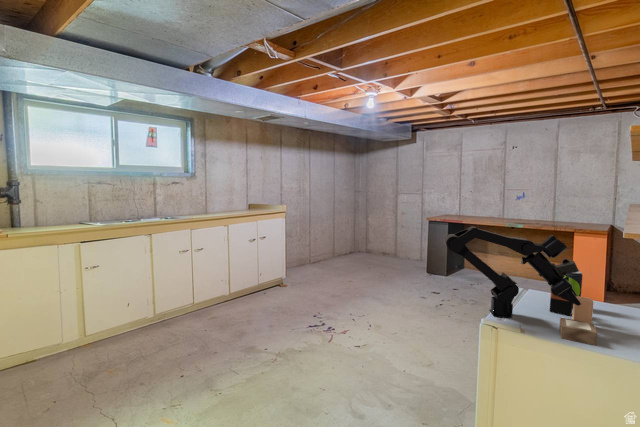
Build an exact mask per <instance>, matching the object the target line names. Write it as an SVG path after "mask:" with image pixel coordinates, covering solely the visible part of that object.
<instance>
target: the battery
mask: <svg viewBox="0 0 640 427" xmlns="http://www.w3.org/2000/svg"><path fill="white" fill-rule="evenodd" d="M549 300H550V302H549V312H551V313H553V314H558V315H564V316H567V317H570V316H571V315H573V309H572V306H573V303H571V302H569V301H567V300H565V299H563V298H560V297H557V296H555V295H554V294H553V293H552V292H551V291H550V299H549Z"/></svg>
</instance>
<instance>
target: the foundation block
mask: <svg viewBox="0 0 640 427" xmlns="http://www.w3.org/2000/svg"><path fill="white" fill-rule="evenodd" d="M559 332H560V334H559V335H560V338H561V339H563V340H568V341H573V342H578V343H582V344H588V345H592V346H593V345H594V346H597V340H598V331H597V329H596V326H595V324H594V323H593V322H592V323H589V322H583V321H578V320H572V318H566V317H560V318H559Z"/></svg>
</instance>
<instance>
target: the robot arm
mask: <svg viewBox="0 0 640 427" xmlns="http://www.w3.org/2000/svg"><path fill="white" fill-rule="evenodd" d="M475 239H478V240H481V241H485V242H489V243H492V244H496V245H498V246H502V247H506V248H508V249H510V250H512V251H514V252H516V253H518V254H521V257H520V260H521V261H520V264H521V265H526V264H527V263H528V264H529V265H530V266H531V267H532V269H533V270H535V271H536V272H537V273H538V276H540V277H541V278H543V279H544V280H545V282H547V285H548V286H549V287H550V293H551V292H552V293H553V294H554V295H555V296H557V297H560V298H563V299H565V300H567V301H569V302H571V303H573V304H576V305H578V306H579V305H581V303H580V302H579V300H578V299H577V297H576V296H577V294H576V293H575V291H574V290H573V289H572V284H571V283H570V282H569V277H568V275H567V274H569V273H573V272H574V273H575V272H578V271H580V270H579V268H578V266H577V264H576V262H575V261H574V260H569V259H568V258H564V259H562V260H561V263H559V264H555V263H554V262H551V261H550V260H549V259H550V258H552V259H556V258H557V257H558V256H559V255H561V254H562V253H563V252H565V251H566V250H567V249H568V246H567V245H566V244H565V243H564V242H562V240H560V239H558V238H557V237H556V236H555V235H553V234H550V235H549V236H548V237H547V238H546V239H544V241H542V242H541V243H537V242H533V241H532V240H530V239H527V238H524V237H517V236H506V235H502V234H499V233H495V232H491V231H488V230H484V229H481V228H478V227H476V226H470V227H467V228H466V229H464V230H463V229H462V230H461V231H458V232H456V233H450V234H447V235H446V236H445V237H444V239H443V245H444V246H445V247H446V248H447V249H448V250H449V251H451V252H452V253H454V254H456V255H458V256H460V257H462V258H463V259H465V260H466V261H467V262H469V264H470V265H472V266H473V267H474V268H476V269H477V270H478V271H479V272H480V273H481V274H483V275H484V276H485V277H486V278H488V279H489V280H490V282H492V284H493V285H494V287H492V288H491V289H490V293H491V301H490V302H491V303H490V304H491V305H490V309H488V311H489V312H490V313H491V315H492V316H493V317H495V318H496V317H497V318H506V319H507V318H509V319H513V309H514V304H513V301H514V299H515V297H517V296H518V294H519V289H520V288H519V286H518V285H517V284H518V283H517V282H516V281H515V280H513V278H511V277H510V276H509V275H508V274H506V273H505V272H502V273H501V274H500V273H498V272H496V271H495V270H494V269H493V268H491V267H490V266H489V265H488V264H487V263H485V262H484V261H483V260H482V259H480V258H479V257H478V256H477V255H476V254H475V253H473V252H472V251H471V250H470V249H469V248H468V246H467V244H469V243H470V242H472V240H475ZM522 255H523V256H522ZM565 276H566V277H565ZM564 277H565V278H564ZM493 310H494V311H493Z"/></svg>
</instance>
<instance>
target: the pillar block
mask: <svg viewBox="0 0 640 427" xmlns="http://www.w3.org/2000/svg"><path fill="white" fill-rule="evenodd" d="M576 297H577V299H578V300H579V302H580V303H581V305H579V306H578V305H576V304H573V309H572V314H571V315H572V318H571V319H572V320H578V321H583V322H589V323H593V311H594V300H593V299H592V297H588V296H587V297H585V296H581V297H580V296H576Z"/></svg>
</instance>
